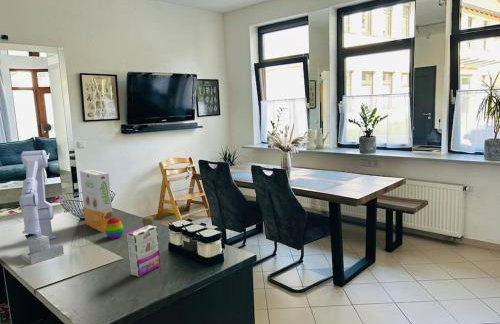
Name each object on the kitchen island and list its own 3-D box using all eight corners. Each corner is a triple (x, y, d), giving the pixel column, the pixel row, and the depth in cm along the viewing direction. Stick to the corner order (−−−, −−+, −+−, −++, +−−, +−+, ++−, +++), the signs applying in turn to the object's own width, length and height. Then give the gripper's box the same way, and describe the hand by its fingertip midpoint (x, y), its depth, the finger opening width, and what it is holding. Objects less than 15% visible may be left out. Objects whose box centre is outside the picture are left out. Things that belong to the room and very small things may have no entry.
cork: (152, 241, 173) (150, 218, 172) (140, 240, 175) (138, 218, 173) (157, 236, 179) (156, 215, 178) (146, 236, 180) (144, 214, 179)
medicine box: (51, 255, 161) (49, 236, 160) (42, 259, 157) (39, 239, 156) (39, 252, 164) (36, 234, 163) (29, 256, 160) (27, 237, 159)
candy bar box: (152, 263, 148) (148, 224, 145) (161, 266, 145) (157, 226, 143) (129, 274, 138) (125, 233, 136) (138, 277, 136) (135, 235, 133)
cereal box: (113, 229, 193) (108, 173, 189) (102, 232, 189) (96, 175, 185) (96, 221, 209) (91, 169, 205) (85, 223, 205) (79, 170, 201)
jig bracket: (21, 258, 159) (19, 249, 158) (52, 248, 169) (51, 240, 168) (31, 264, 151) (30, 255, 151) (63, 254, 161) (62, 245, 161)
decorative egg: (126, 234, 185) (124, 214, 184) (119, 239, 177) (117, 219, 176) (111, 234, 186) (109, 215, 185) (103, 239, 178) (101, 219, 177)
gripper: (15, 219, 164) (19, 248, 166) (27, 225, 155) (31, 255, 157) (32, 215, 170) (36, 243, 172) (45, 220, 161) (49, 250, 162)
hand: (35, 249), depth 165 cm, fingers closed
